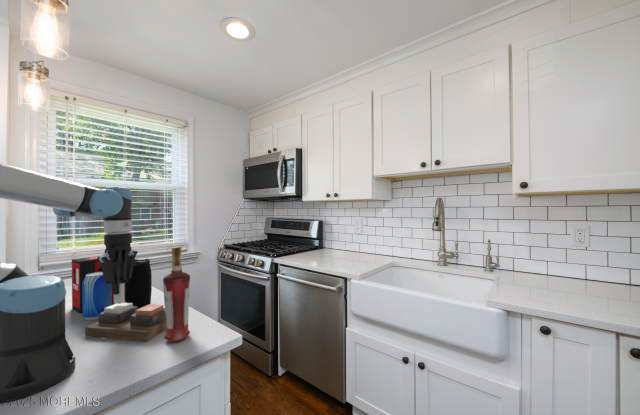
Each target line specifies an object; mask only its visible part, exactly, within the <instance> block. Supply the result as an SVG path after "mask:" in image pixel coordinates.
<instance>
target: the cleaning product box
mask: <svg viewBox="0 0 640 415" xmlns="http://www.w3.org/2000/svg"><path fill="white" fill-rule="evenodd" d="M99 256H100V255H98V256H96V255H95V256H91V257H82V258H75V259H71V304H72V305H71V306H72V307H71V309H72V310H73V311H75V312H77V313H79V314H83V311H82V282H83V280H84V279H85V277H86V275H87V274H90V273H96V272H102V268H101V264H100V263H99V261H98V260H97V257H99ZM114 304H115V303H114V294H112V305H114Z"/></svg>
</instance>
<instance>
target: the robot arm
mask: <svg viewBox="0 0 640 415" xmlns="http://www.w3.org/2000/svg"><path fill="white" fill-rule="evenodd" d="M0 199H4V200H8V201H14V202H19V203H25V204H30V205H35V206H41V207H45V208H51V209H52V211H53V213H54V215H55V216H57V217H59V218H60V217H61V218H62V217H63V218H64V217H65V218H66V217H67V218H72V217H74V218H75V217H76V218H77V217H78V218H79V217H80V218H81V217H86V218H87V217H100V218H103V233H105V234H104V235H103V245H104V246H105V249H104V253H103V254H102V255H98V256H99V257H97V260H98V261H99V263H100V264H101V268H102V272H103V276H104V279H105V283H106V284H111V285H112V294H114V303H115V304H121V303H125V291H126V283H127V282H128V281H129V280H128V279H131V277H132V272H133V266H134V261H135V259H136V257H137V255H138V250H134V249H132V246H131V244H132V243H133V234H132V233H131V232H132V229H133V228H132V225H133V224H132V221H133V220H132V202H133V200H132V191H131V189H130V188H129V187H124V186H104V188H97V187H93V186H90V185H89V186H88V185H84V184H81V183H78V182H74V181H70V180H67V179H62V178H59V177H55V176H50V175H48V174H43V173H41V172H40V173H39V172H36V171H33V170H30V169H29V170H28V169H24V168H21V167H17V166H14V165H10V164H6V163H2V162H0ZM127 275H128V276H127ZM66 294H67V289H66V286H65V281H64V279H62V278H61V277H59V276H56V275H43V274H42V275H41V274H40V275H39V274H38V275H37V274H36V275H29V274H28V273H26V272H25V271H24V270H23V269H22V268H20V267H19V266H18V265H17V264H16V263H4V262H1V261H0V403H5V402H11V401H14V400H18V399H22V398H25V397H26V398H27V397H28V396H31V395H34V394H37V393H40V392H43V391H44V390H46V389H48V388H51V387H53V386H55V385H56V384H59V383H60V382H62V381H63V380H64V379H66V378H68V377H69V376H70V375H71V374H72V373H73V372H74V371H75V369H76V358H75V354H74V353H73V351H72V348H71V347H70V345H69V343H68V341H67V338H66Z"/></svg>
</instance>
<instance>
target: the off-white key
mask: <svg viewBox="0 0 640 415" xmlns="http://www.w3.org/2000/svg"><path fill="white" fill-rule="evenodd" d="M131 308H133V303H125V302H124V303H121V304H114V305H111V306H109V307H106V308H104V313H110V314H120V313H122V312H124V311H127V310H129V309H131Z"/></svg>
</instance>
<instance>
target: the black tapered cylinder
mask: <svg viewBox="0 0 640 415" xmlns="http://www.w3.org/2000/svg"><path fill="white" fill-rule="evenodd" d="M150 262H151V260H150V258H143V259H137V258H135V261H134V266H133V272H132V277H131V279H128V280H129V281H128V282H127V283H126V291H125V302H124V303H133V306H138V309H140V308H142V307H144V306H146V305H149V304H152V303H151V302H152V290H153V289H152V285H153V284H152V277H153V276H152V275H153V274H152V267H151V264H150ZM127 276H128V275H127Z"/></svg>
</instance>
